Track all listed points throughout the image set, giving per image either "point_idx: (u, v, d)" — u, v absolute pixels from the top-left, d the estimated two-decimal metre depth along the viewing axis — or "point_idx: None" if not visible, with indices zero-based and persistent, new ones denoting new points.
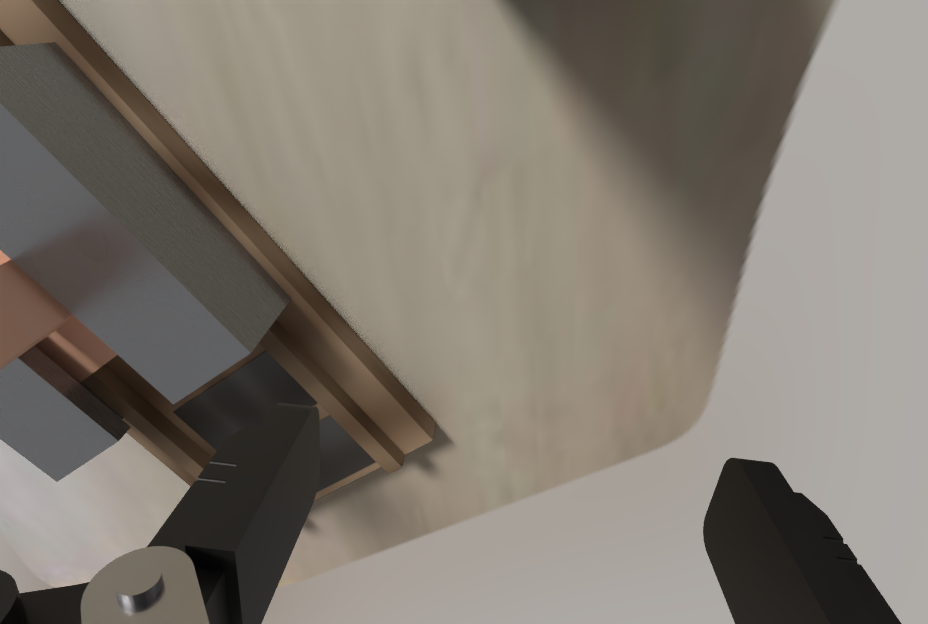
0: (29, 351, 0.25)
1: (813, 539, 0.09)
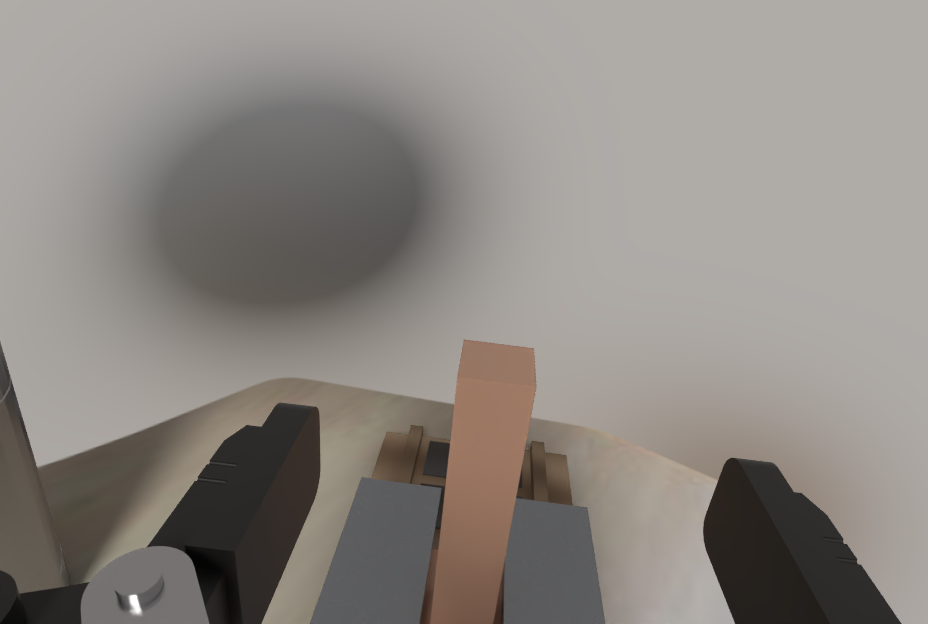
0: (503, 578, 0.30)
1: (813, 539, 0.09)
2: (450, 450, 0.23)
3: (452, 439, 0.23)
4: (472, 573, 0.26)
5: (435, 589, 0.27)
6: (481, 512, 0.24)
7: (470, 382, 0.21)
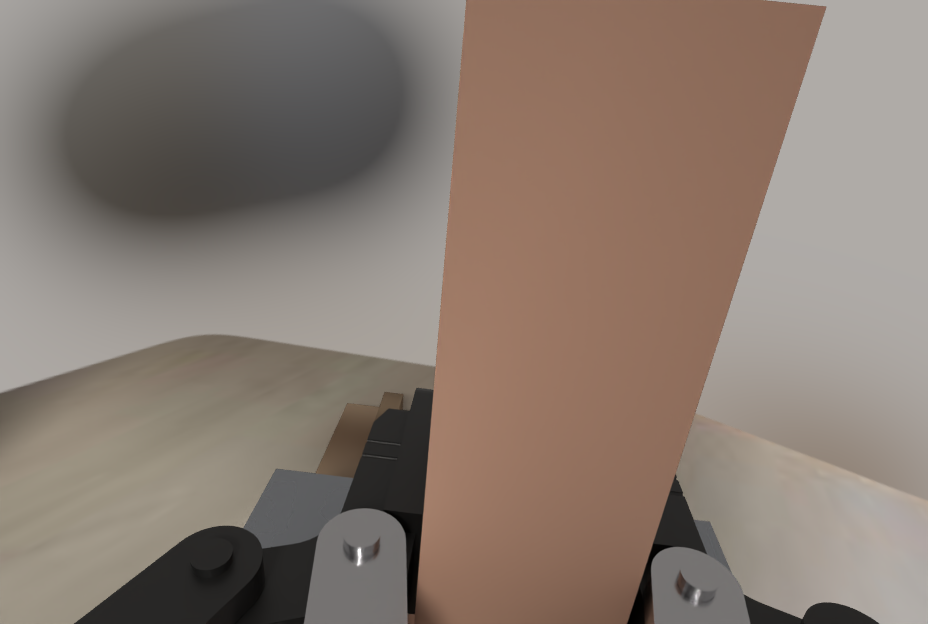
0: None
1: None
2: (442, 338, 0.06)
3: (449, 291, 0.06)
4: None
5: None
6: (542, 557, 0.08)
7: (525, 1, 0.05)
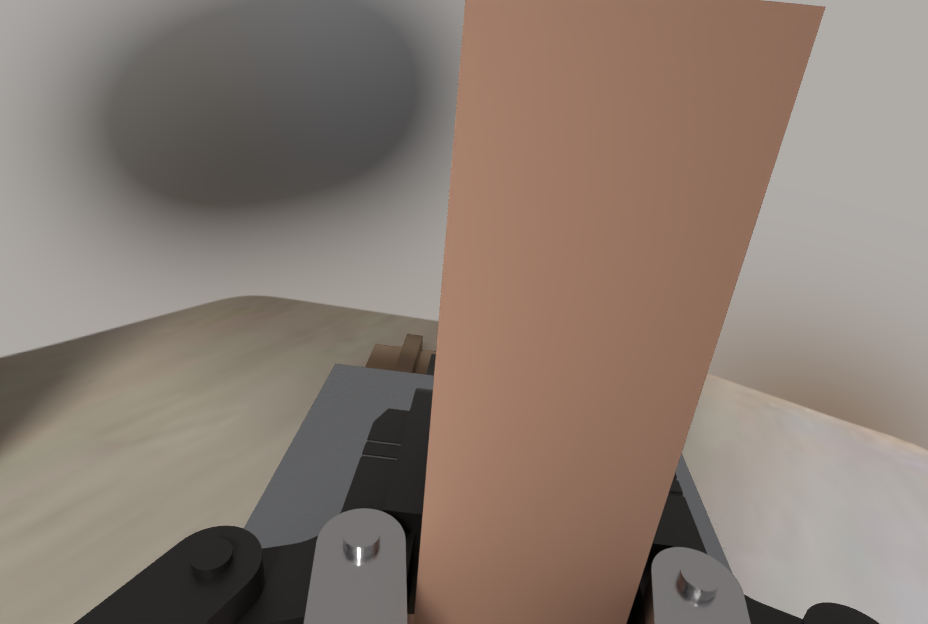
0: None
1: None
2: (441, 337, 0.06)
3: (447, 291, 0.06)
4: None
5: None
6: (542, 557, 0.08)
7: (523, 2, 0.05)
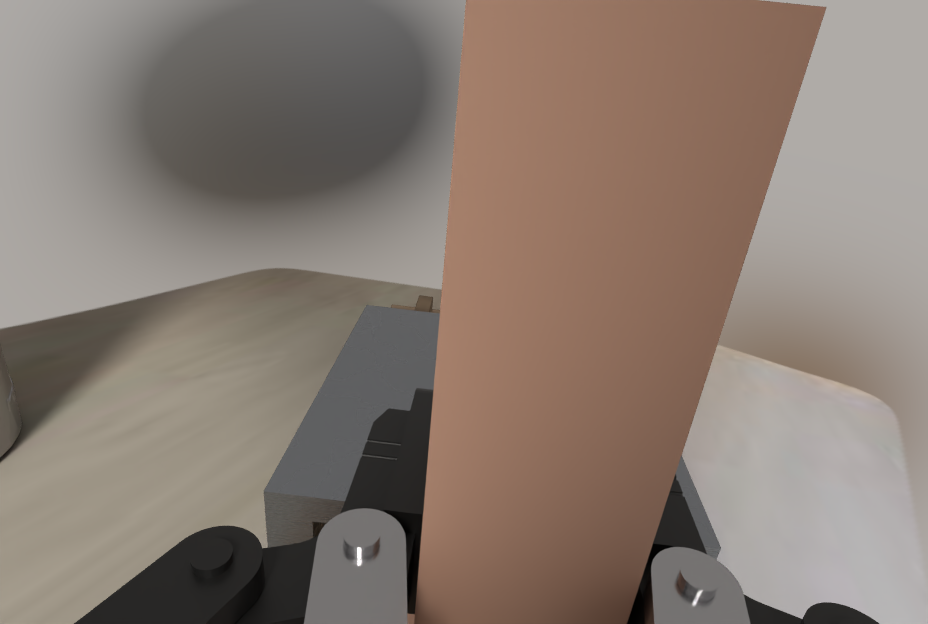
0: None
1: None
2: (441, 338, 0.06)
3: (448, 292, 0.06)
4: None
5: None
6: (542, 557, 0.08)
7: (524, 1, 0.05)
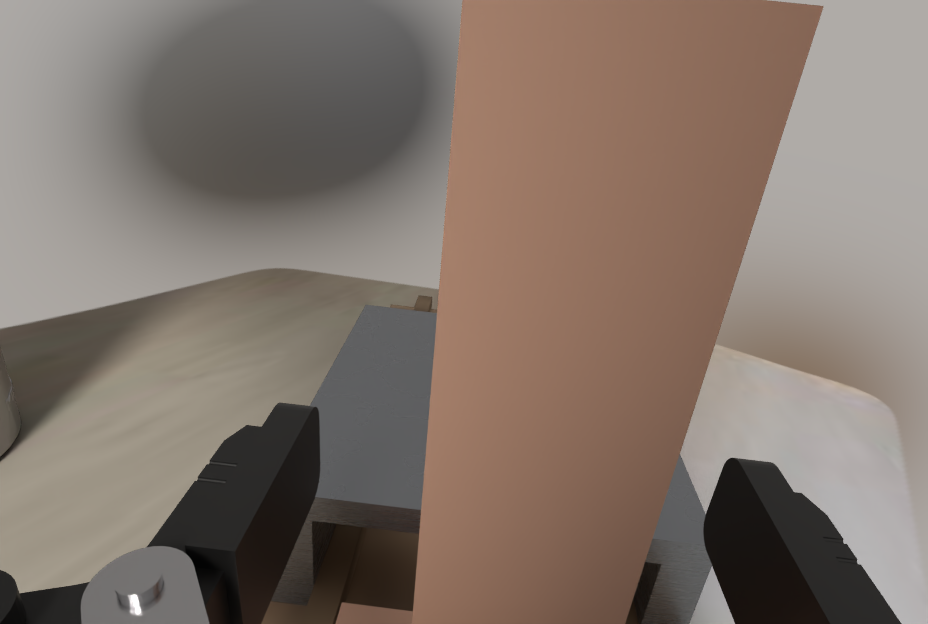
0: None
1: (813, 539, 0.09)
2: (439, 338, 0.06)
3: (445, 292, 0.06)
4: None
5: None
6: (540, 557, 0.08)
7: (521, 0, 0.05)
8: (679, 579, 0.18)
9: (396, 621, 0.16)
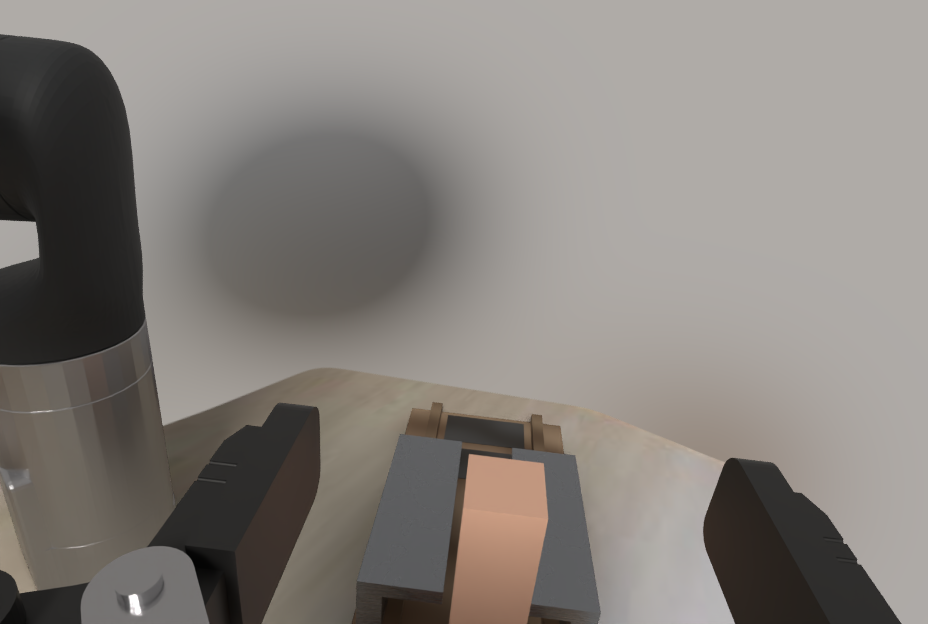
0: None
1: (813, 539, 0.09)
2: (455, 579, 0.21)
3: (458, 568, 0.21)
4: None
5: None
6: None
7: (477, 514, 0.20)
8: None
9: None
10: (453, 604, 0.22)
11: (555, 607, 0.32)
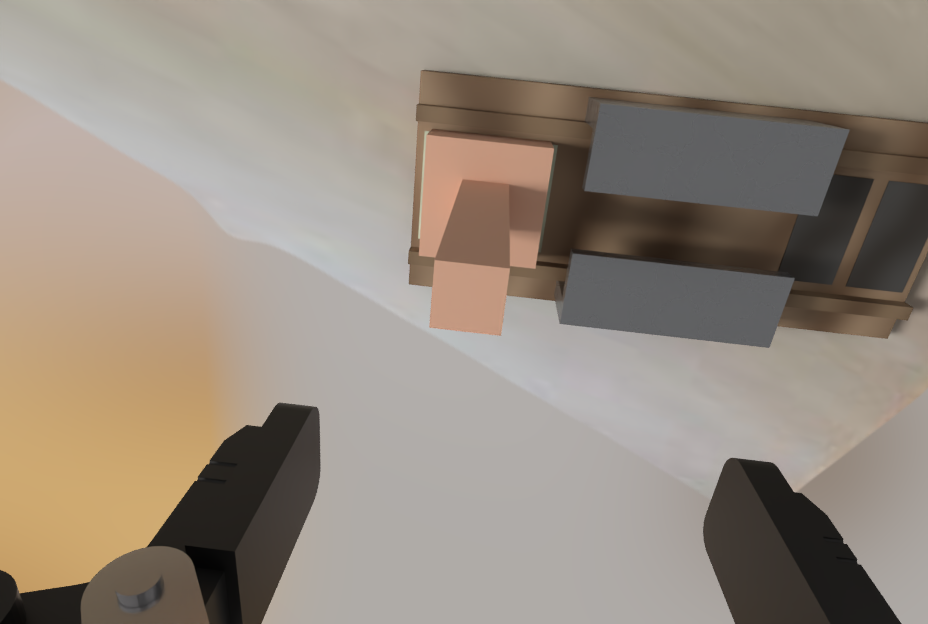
0: (705, 265, 0.36)
1: (813, 539, 0.09)
2: (443, 234, 0.26)
3: (442, 239, 0.25)
4: None
5: (457, 193, 0.33)
6: None
7: (434, 270, 0.23)
8: (559, 303, 0.39)
9: (544, 174, 0.36)
10: (446, 226, 0.27)
11: (566, 288, 0.37)
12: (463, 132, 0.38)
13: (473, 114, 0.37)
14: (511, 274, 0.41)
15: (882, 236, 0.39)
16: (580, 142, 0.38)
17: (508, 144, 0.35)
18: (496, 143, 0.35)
